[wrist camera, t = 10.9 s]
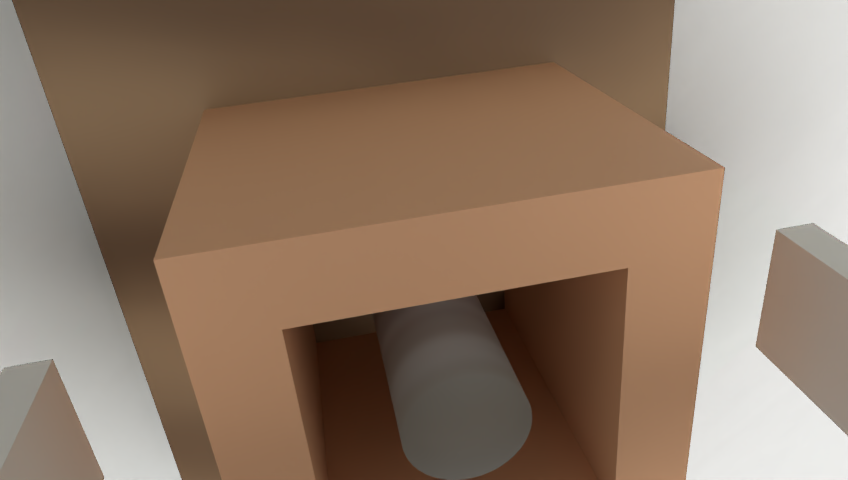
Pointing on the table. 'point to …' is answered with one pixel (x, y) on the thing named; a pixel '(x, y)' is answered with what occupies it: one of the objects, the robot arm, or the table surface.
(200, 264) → the collar
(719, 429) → the table surface
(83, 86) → the post board
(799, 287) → the robot arm
